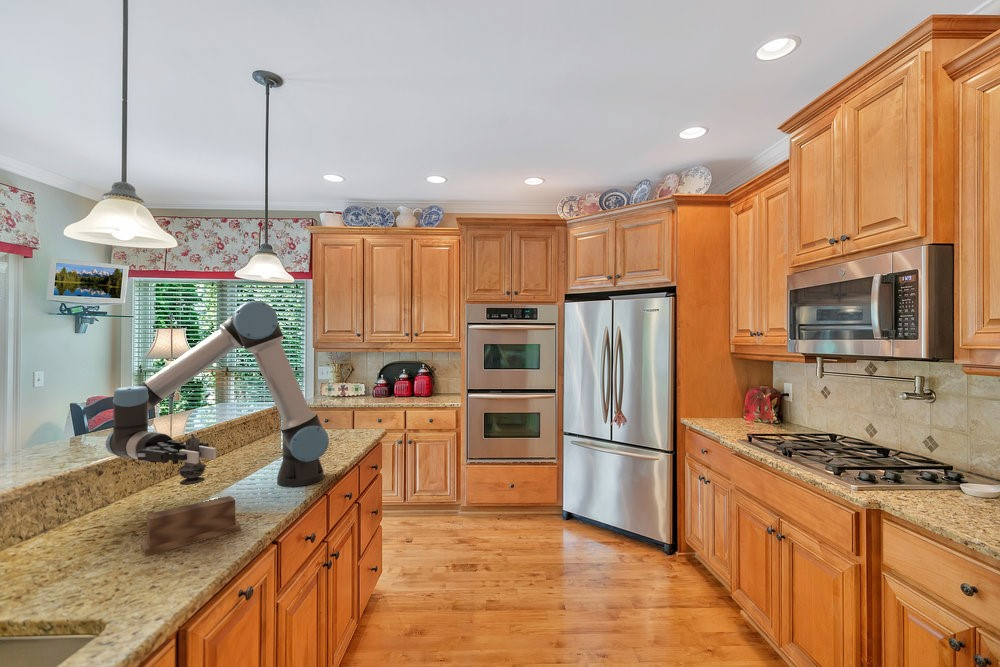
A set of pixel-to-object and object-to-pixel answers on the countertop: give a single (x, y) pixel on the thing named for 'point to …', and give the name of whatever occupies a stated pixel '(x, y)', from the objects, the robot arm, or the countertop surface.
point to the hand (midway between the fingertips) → (205, 455)
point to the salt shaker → (192, 465)
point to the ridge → (189, 524)
